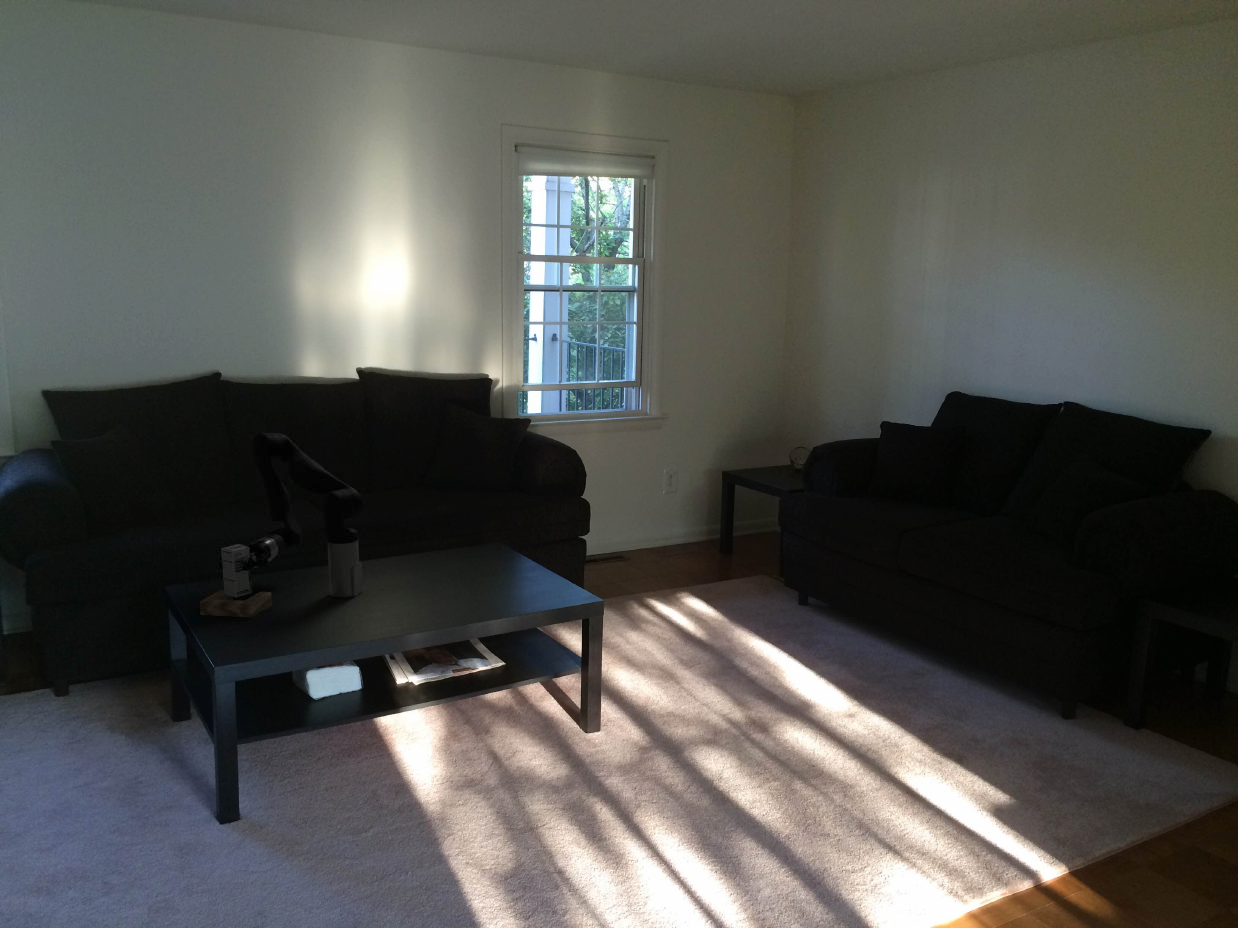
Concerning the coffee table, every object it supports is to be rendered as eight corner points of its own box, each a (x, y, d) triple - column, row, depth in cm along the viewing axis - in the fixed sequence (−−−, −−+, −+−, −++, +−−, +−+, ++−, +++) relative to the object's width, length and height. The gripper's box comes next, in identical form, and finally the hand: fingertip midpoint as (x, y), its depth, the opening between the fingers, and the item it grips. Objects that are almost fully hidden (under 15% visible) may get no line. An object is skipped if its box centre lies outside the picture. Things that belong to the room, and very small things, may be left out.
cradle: (271, 604, 298) (271, 592, 297) (251, 617, 286) (250, 604, 286) (222, 602, 300) (221, 589, 300) (200, 614, 289) (199, 601, 288)
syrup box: (235, 598, 290) (233, 550, 288) (223, 594, 294) (220, 547, 291) (252, 593, 295) (249, 546, 292) (240, 589, 298) (237, 543, 296)
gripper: (238, 539, 307) (209, 553, 291) (281, 541, 305) (254, 555, 289) (239, 562, 308) (211, 577, 292) (282, 564, 306) (256, 580, 290)
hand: (232, 566), depth 291 cm, fingers closed on syrup box, 7 cm apart
